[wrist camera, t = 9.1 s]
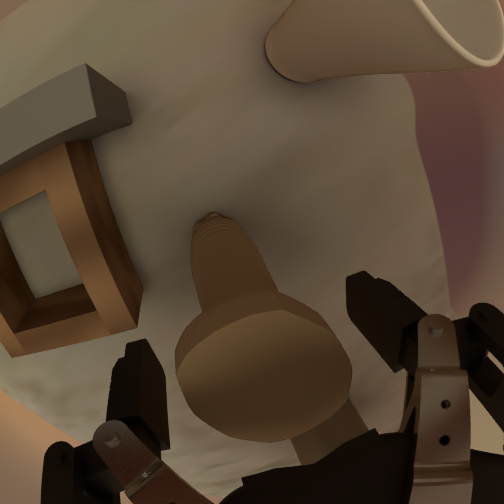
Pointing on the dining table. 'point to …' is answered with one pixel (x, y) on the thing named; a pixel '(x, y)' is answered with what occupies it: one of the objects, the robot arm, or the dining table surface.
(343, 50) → the drinking glass
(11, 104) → the slate wall
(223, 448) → the dining table surface
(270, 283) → the handle
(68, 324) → the walnut block
